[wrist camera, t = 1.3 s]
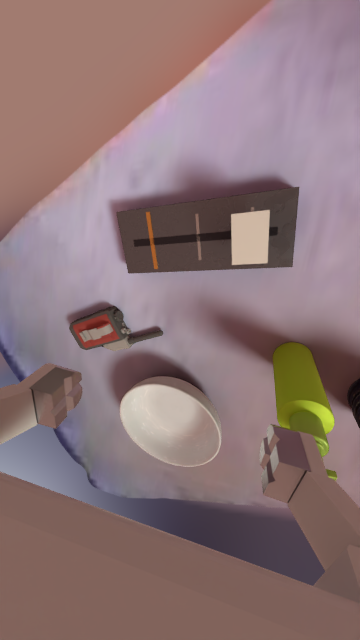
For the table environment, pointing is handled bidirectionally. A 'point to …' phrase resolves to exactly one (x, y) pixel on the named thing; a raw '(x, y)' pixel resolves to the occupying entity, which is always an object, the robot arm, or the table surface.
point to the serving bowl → (171, 421)
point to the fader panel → (205, 233)
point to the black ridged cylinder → (355, 400)
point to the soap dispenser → (302, 395)
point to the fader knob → (250, 237)
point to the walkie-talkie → (106, 331)
